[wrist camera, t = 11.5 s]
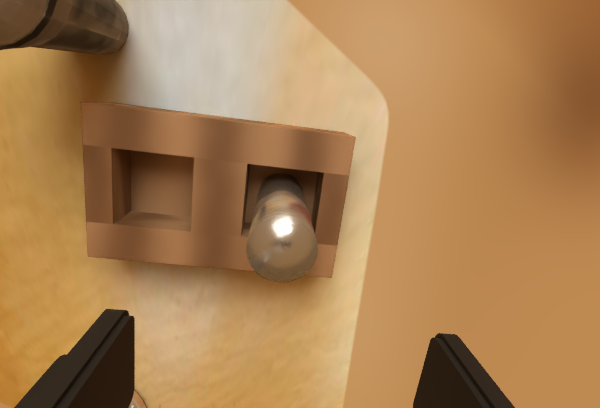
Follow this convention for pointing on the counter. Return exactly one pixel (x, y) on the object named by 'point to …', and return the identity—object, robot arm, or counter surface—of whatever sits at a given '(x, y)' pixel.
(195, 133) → the walnut block
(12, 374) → the counter surface
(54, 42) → the beverage cup
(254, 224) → the steel pin
